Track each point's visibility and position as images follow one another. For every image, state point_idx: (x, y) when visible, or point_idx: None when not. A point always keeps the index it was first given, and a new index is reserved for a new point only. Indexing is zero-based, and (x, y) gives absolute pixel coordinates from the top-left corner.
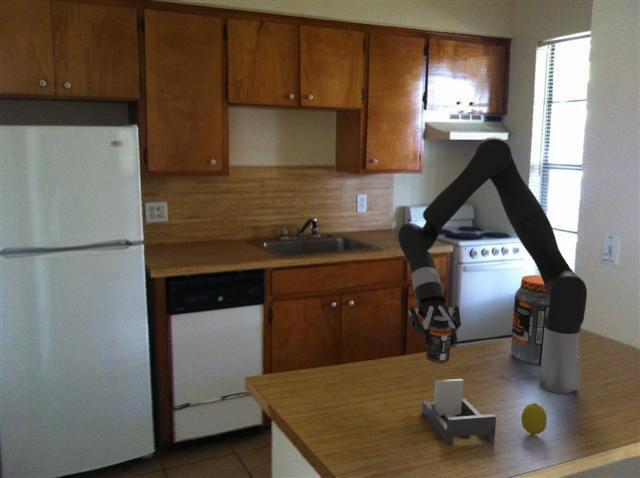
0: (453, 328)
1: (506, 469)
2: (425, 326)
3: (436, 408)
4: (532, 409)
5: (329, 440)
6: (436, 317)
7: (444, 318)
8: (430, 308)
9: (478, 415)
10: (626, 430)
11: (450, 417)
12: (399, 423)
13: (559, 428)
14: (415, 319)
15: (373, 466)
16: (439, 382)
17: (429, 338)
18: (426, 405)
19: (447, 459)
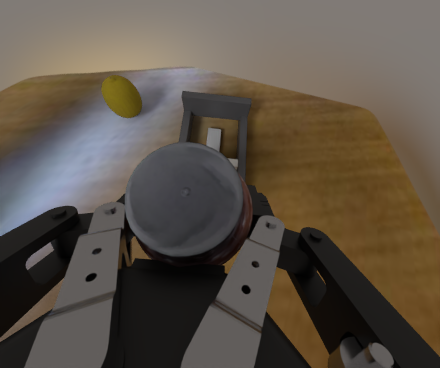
0: (116, 202)
1: (208, 74)
2: (274, 222)
3: None
4: (123, 79)
5: (375, 162)
6: (213, 209)
7: (161, 178)
8: (229, 360)
9: (205, 98)
10: (7, 95)
11: (246, 103)
12: (283, 178)
13: (85, 119)
14: (352, 271)
15: (333, 108)
16: (232, 159)
17: (253, 192)
18: (244, 181)
19: (257, 100)
